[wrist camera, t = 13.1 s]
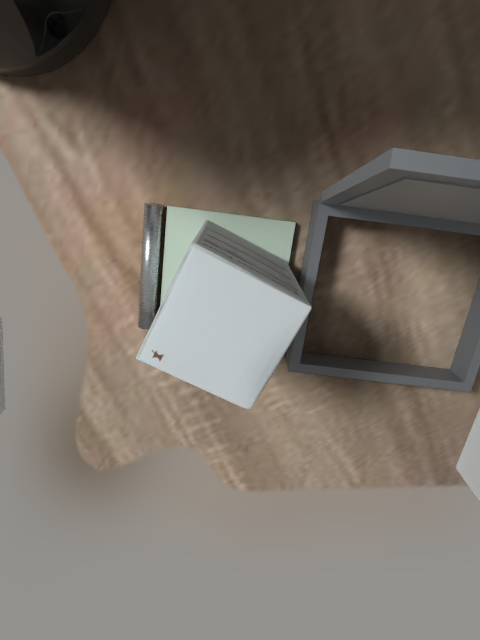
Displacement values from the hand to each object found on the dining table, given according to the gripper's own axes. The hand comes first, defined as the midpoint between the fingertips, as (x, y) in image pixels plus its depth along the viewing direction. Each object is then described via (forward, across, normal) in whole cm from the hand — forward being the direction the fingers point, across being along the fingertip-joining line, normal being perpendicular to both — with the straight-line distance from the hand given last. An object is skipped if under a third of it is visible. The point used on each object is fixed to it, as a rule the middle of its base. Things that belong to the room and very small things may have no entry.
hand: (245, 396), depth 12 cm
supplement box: (+24, -1, -3) cm, 24 cm away
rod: (+24, -7, -3) cm, 25 cm away
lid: (+15, +13, +6) cm, 20 cm away
